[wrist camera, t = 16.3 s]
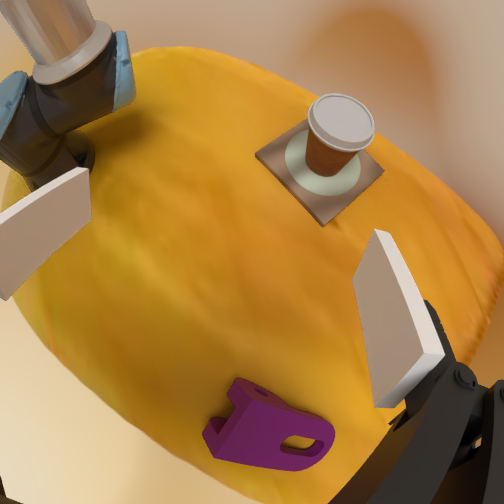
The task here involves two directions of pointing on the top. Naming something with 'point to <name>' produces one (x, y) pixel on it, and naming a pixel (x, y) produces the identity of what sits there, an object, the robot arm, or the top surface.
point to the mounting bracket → (266, 431)
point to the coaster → (310, 184)
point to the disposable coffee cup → (336, 132)
